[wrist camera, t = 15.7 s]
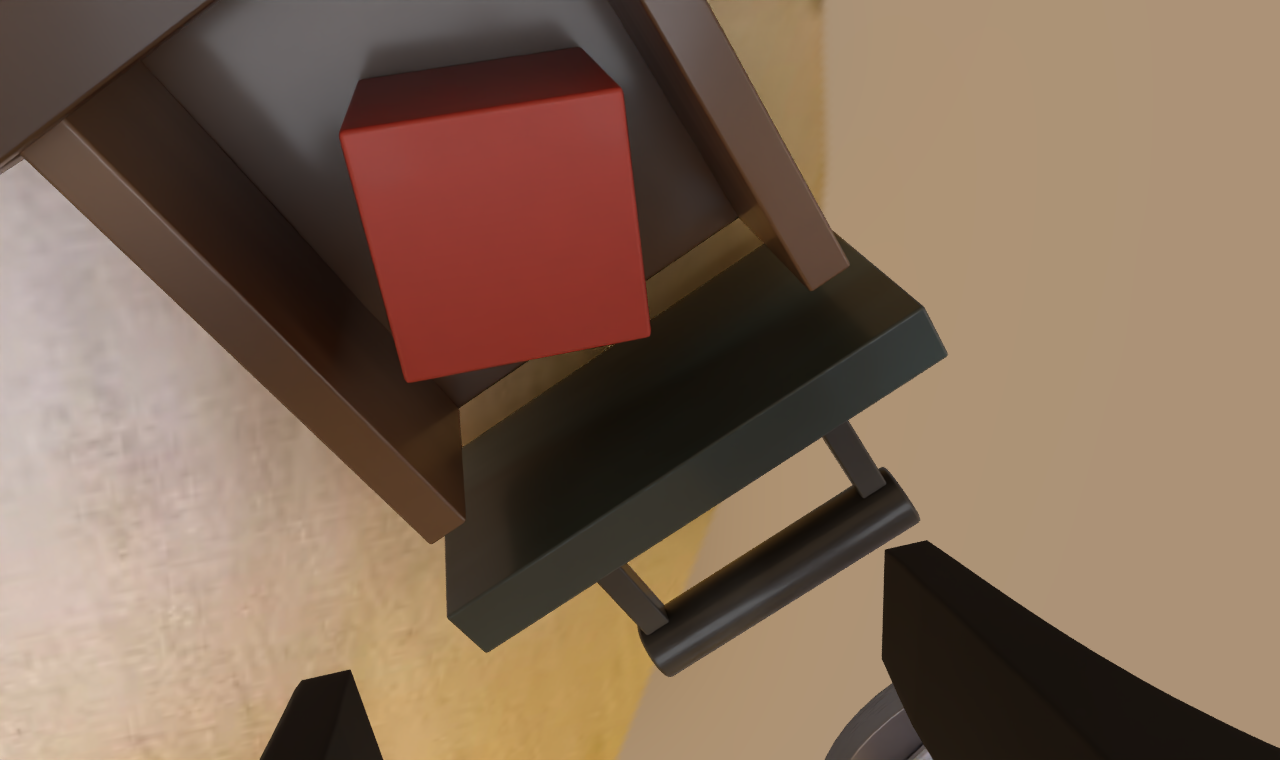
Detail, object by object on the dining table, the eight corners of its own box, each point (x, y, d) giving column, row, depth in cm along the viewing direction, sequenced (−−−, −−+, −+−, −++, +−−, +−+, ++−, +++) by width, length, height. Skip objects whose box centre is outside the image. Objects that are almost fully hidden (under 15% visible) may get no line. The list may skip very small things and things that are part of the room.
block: (582, 45, 16) (623, 86, 13) (610, 254, 18) (652, 338, 15) (355, 79, 16) (336, 131, 12) (409, 290, 18) (405, 385, 14)
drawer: (913, 396, 23) (1034, 522, 18) (584, 607, 24) (621, 777, 19) (499, -353, 14) (533, -466, 10) (18, 23, 15) (-154, 79, 11)
